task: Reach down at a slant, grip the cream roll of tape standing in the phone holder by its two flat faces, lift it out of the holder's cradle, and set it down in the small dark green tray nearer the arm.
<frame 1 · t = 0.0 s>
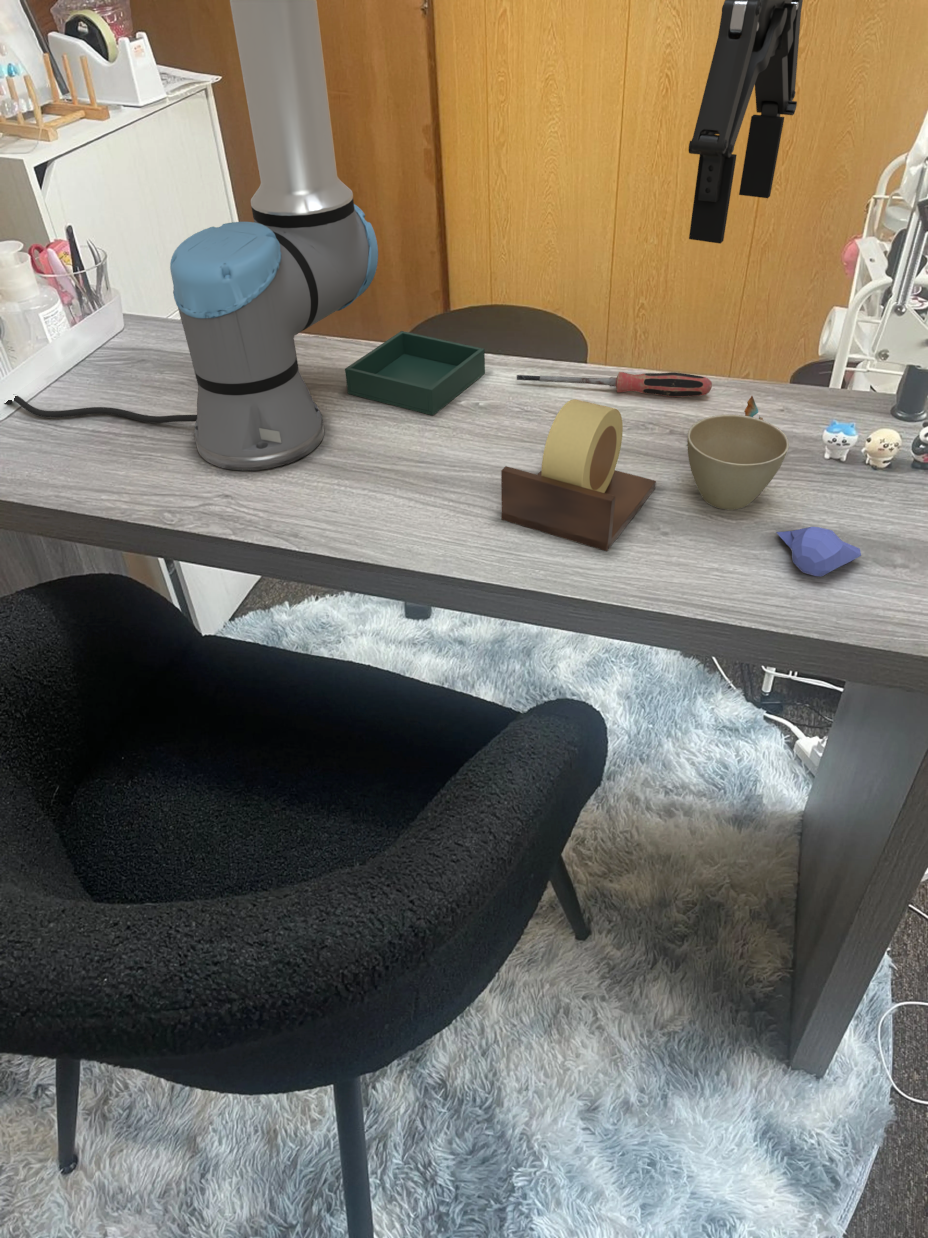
hand: (731, 216, 78), 28 cm above the table, tool pointing down, fingers open, 13 cm apart
phone holder: (579, 503, 95), on the table
bird figurine: (808, 563, 86), on the table
dragon figurine: (730, 446, 103), on the table
screwdriver: (610, 388, 112), point 1 cm above the table
tray: (417, 383, 117), on the table
tape roll: (580, 494, 94), point 1 cm above the table, touching phone holder
flower pot: (726, 498, 95), on the table
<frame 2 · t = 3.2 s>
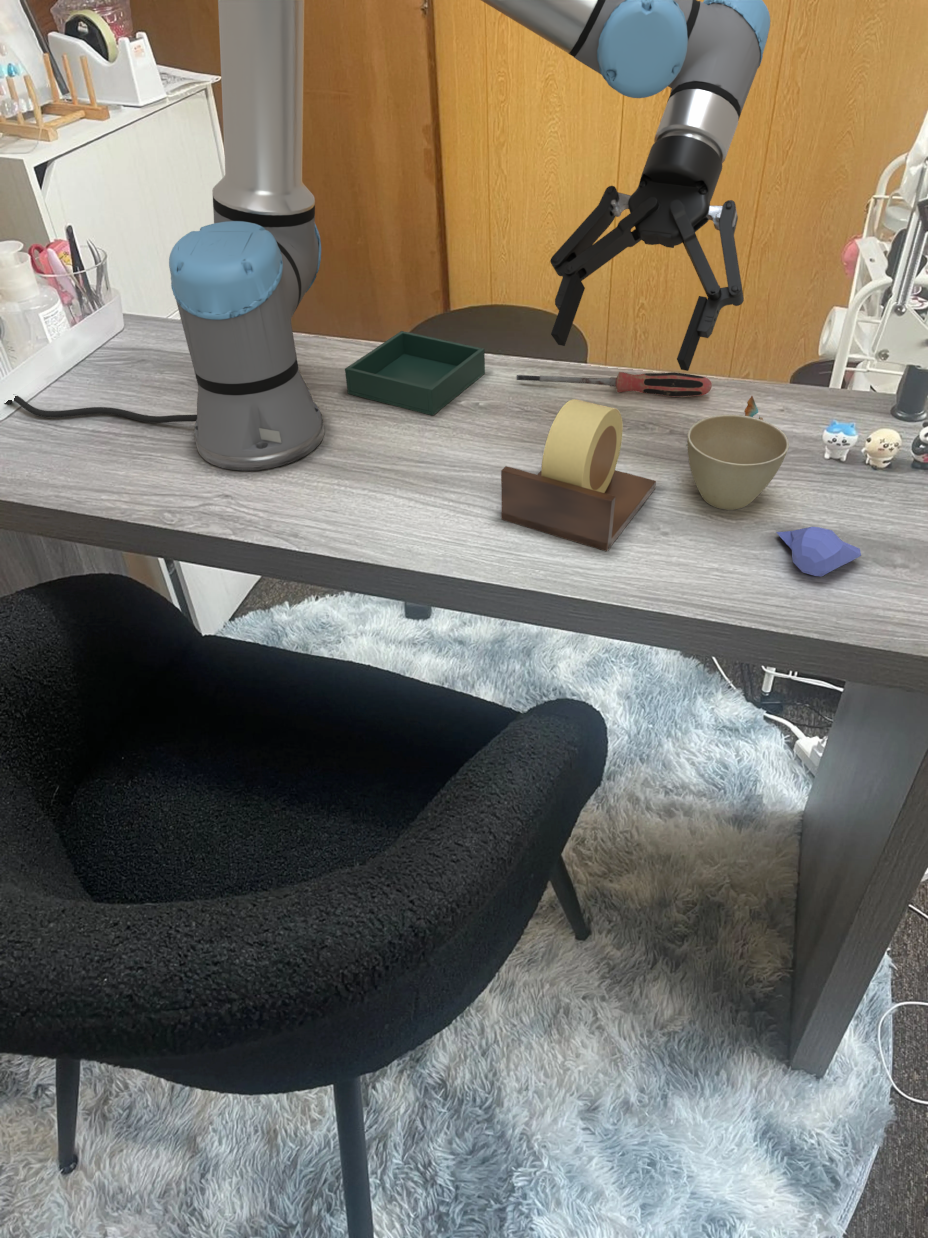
hand: (618, 352, 90), 14 cm above the table, tool tilted 45°, fingers open, 13 cm apart
nothing on the table moved.
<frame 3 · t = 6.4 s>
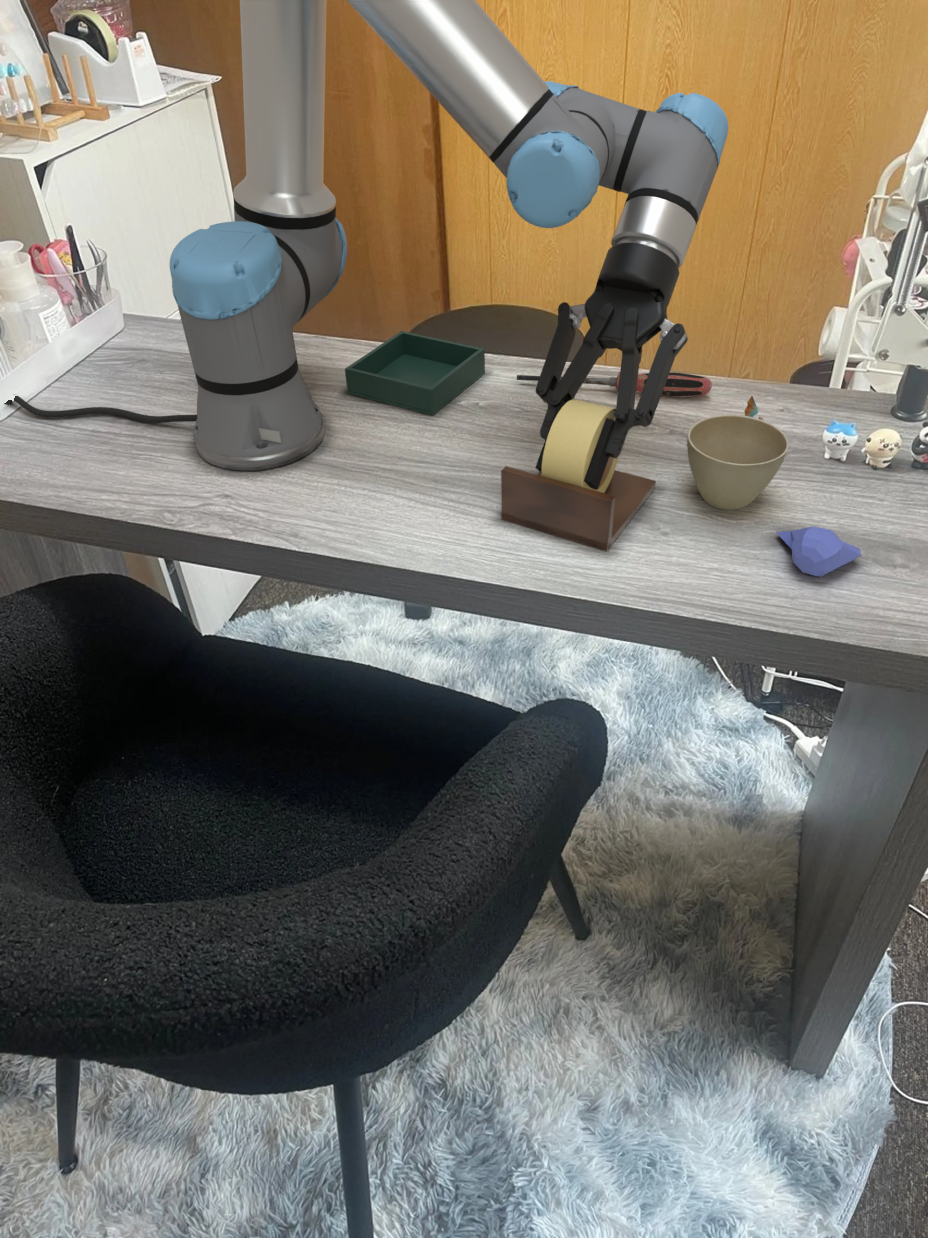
hand: (566, 478, 89), 5 cm above the table, tool tilted 45°, fingers closed on tape roll, 5 cm apart
tape roll: (580, 494, 94), point 1 cm above the table, touching gripper, phone holder
everything else where it was.
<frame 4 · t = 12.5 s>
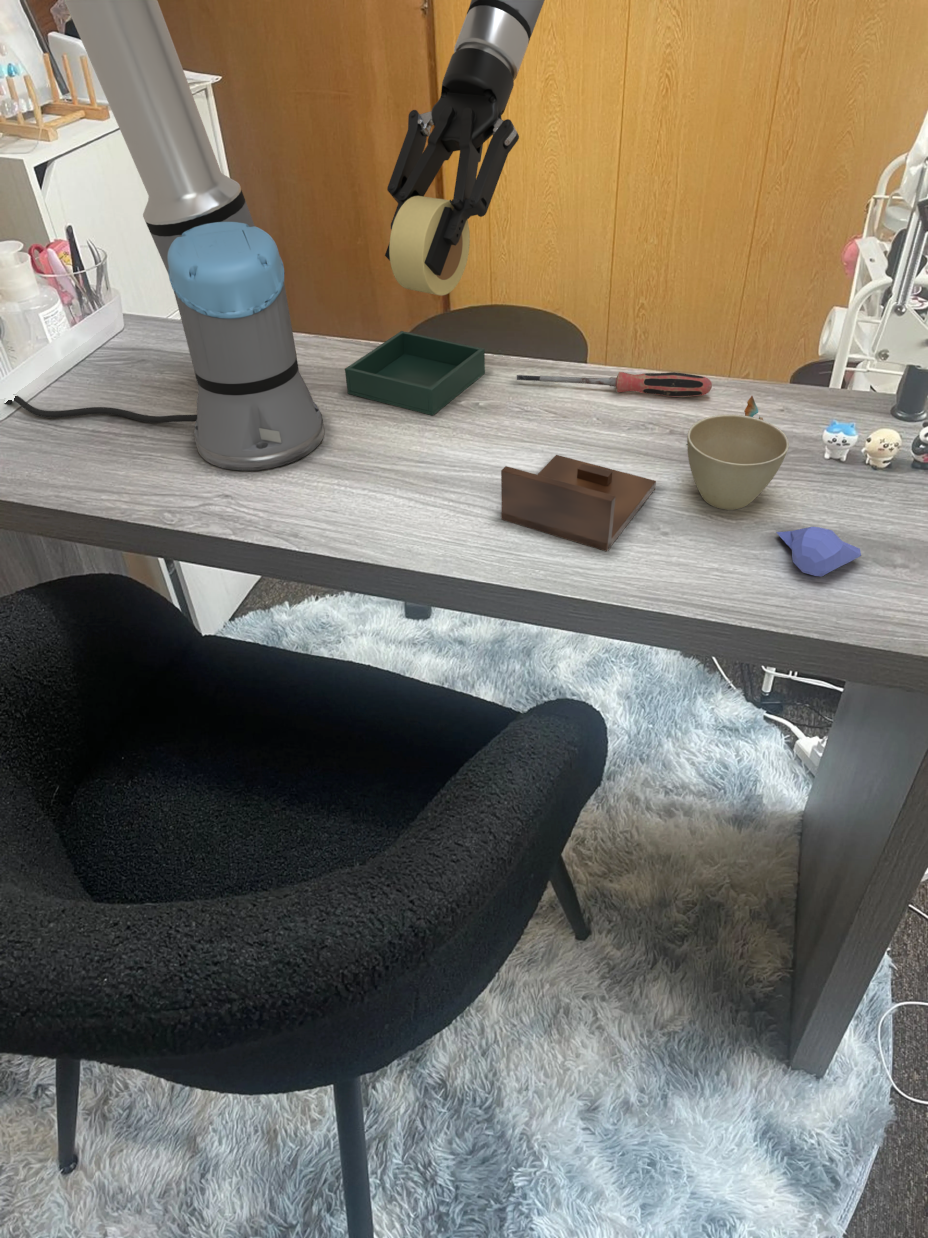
hand: (412, 264, 99), 18 cm above the table, tool tilted 45°, fingers closed on tape roll, 5 cm apart
tape roll: (433, 289, 104), point 14 cm above the table, touching gripper
everything else where it was.
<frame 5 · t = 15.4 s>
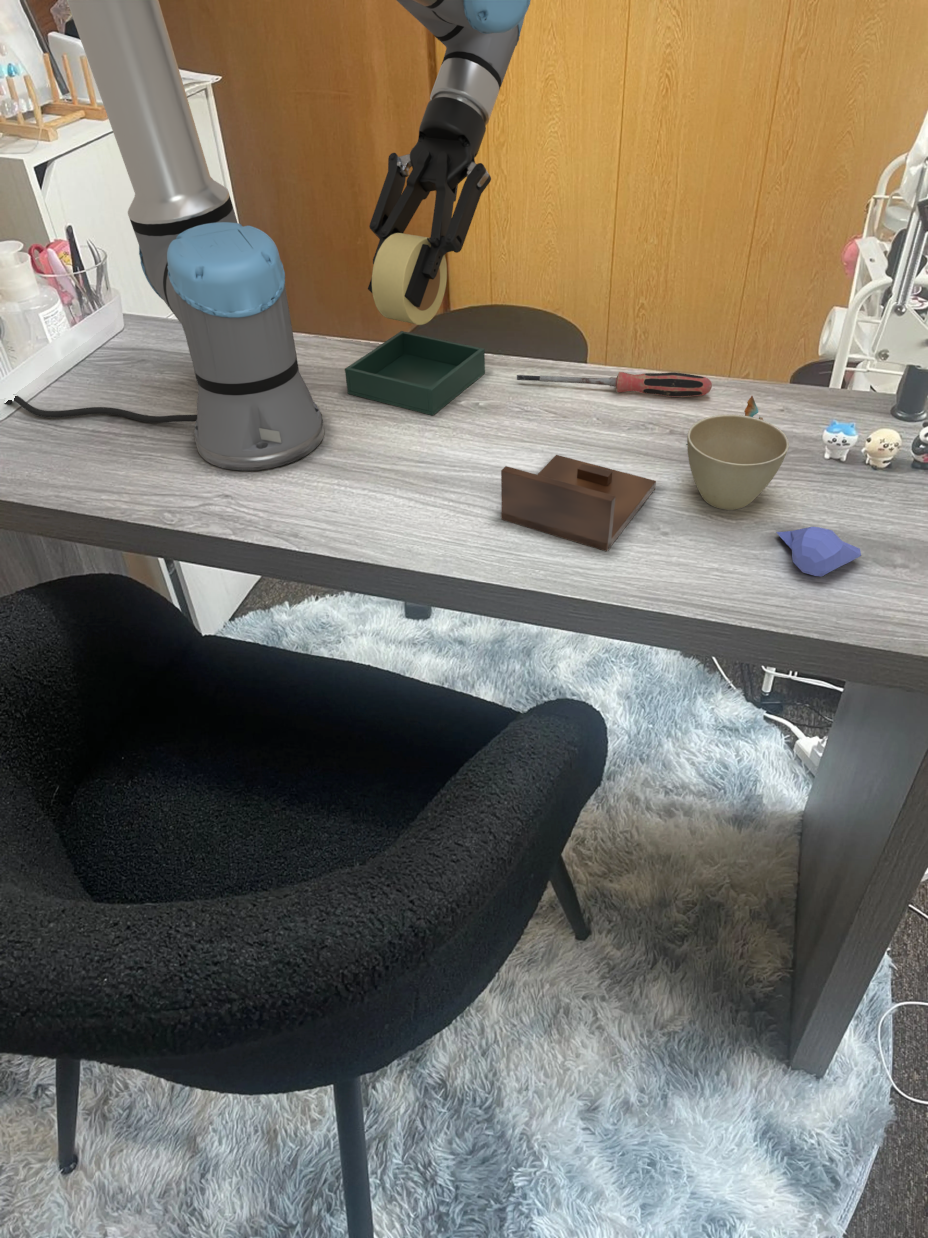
hand: (393, 297, 107), 13 cm above the table, tool tilted 45°, fingers closed on tape roll, 5 cm apart
tape roll: (413, 319, 112), point 9 cm above the table, touching gripper
everything else where it was.
when the fingers open (5 cm above the table, at t = 18.4 s): tape roll stays where it is, resting on tray.
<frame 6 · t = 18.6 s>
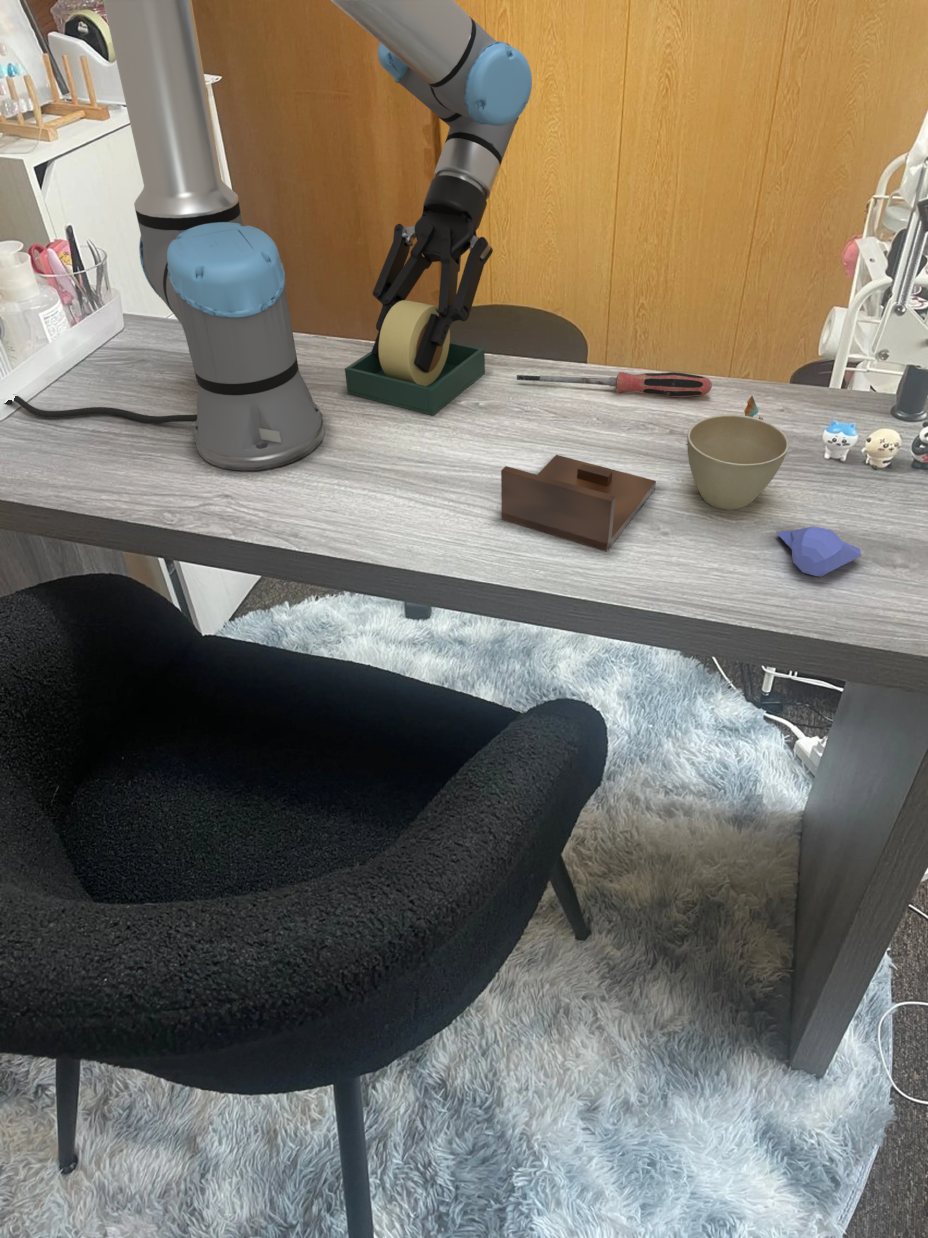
hand: (399, 362, 112), 4 cm above the table, tool tilted 45°, fingers open, 6 cm apart
tape roll: (417, 379, 117), point 1 cm above the table, touching tray
everything else where it was.
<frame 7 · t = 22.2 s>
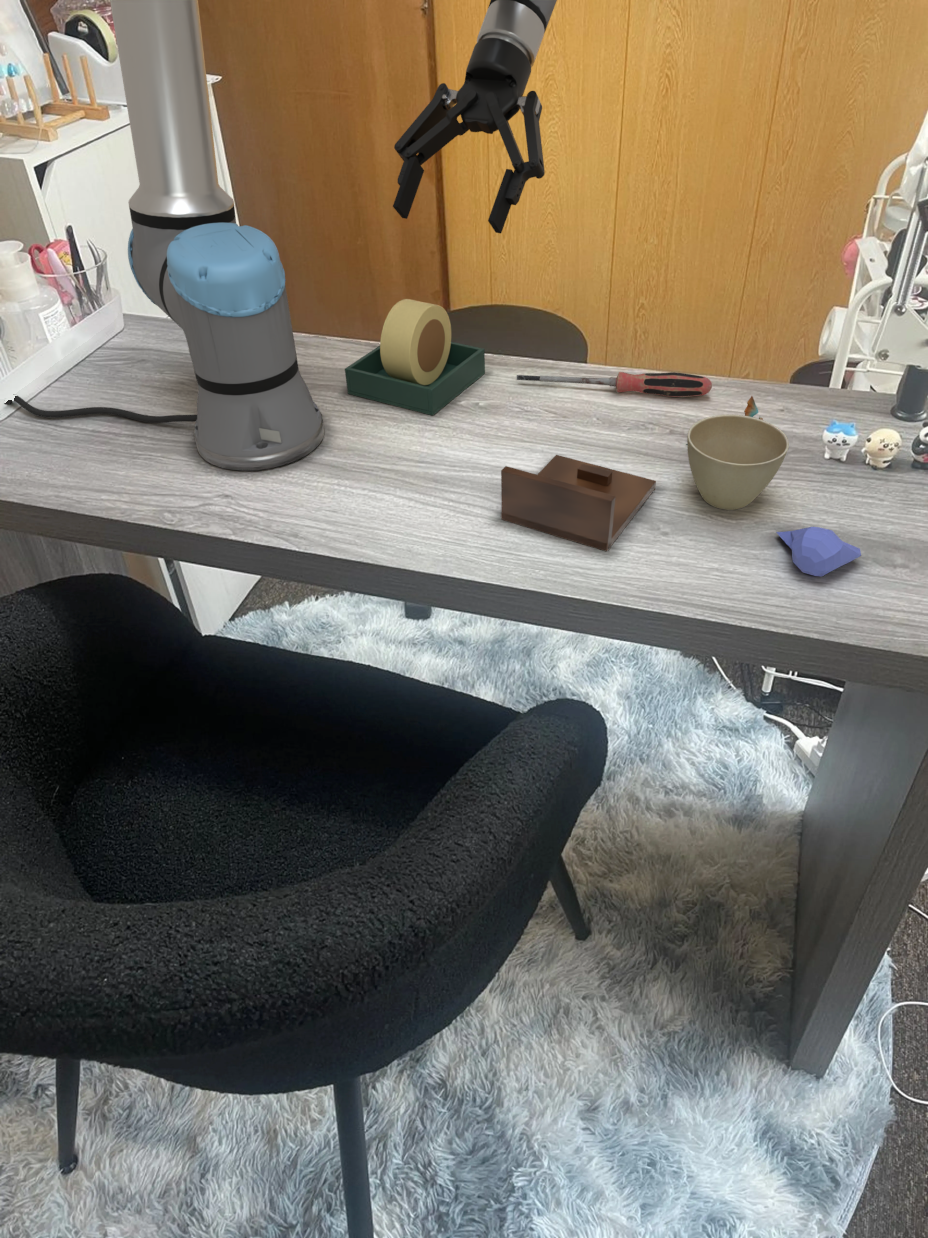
hand: (445, 219, 109), 19 cm above the table, tool tilted 45°, fingers open, 13 cm apart
nothing on the table moved.
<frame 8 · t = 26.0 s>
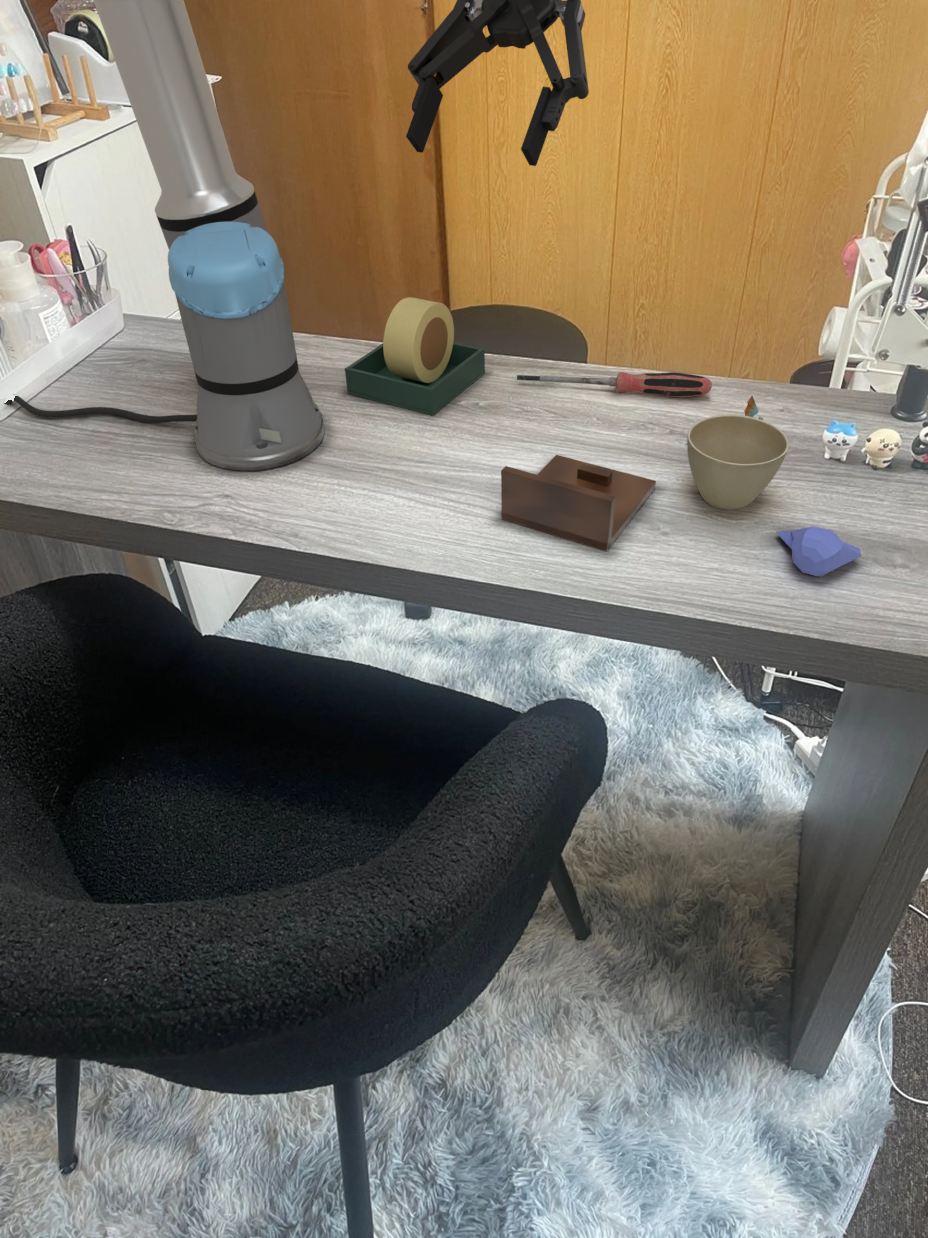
hand: (469, 151, 91), 30 cm above the table, tool tilted 45°, fingers open, 13 cm apart
tape roll: (417, 378, 117), point 1 cm above the table, tilted 11°, touching tray
everything else where it was.
at the end: tape roll inside the target area on the tray (0.1 cm from its centre), point 0.6 cm above the tray's base; tape roll touching tray; the gripper is holding nothing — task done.
